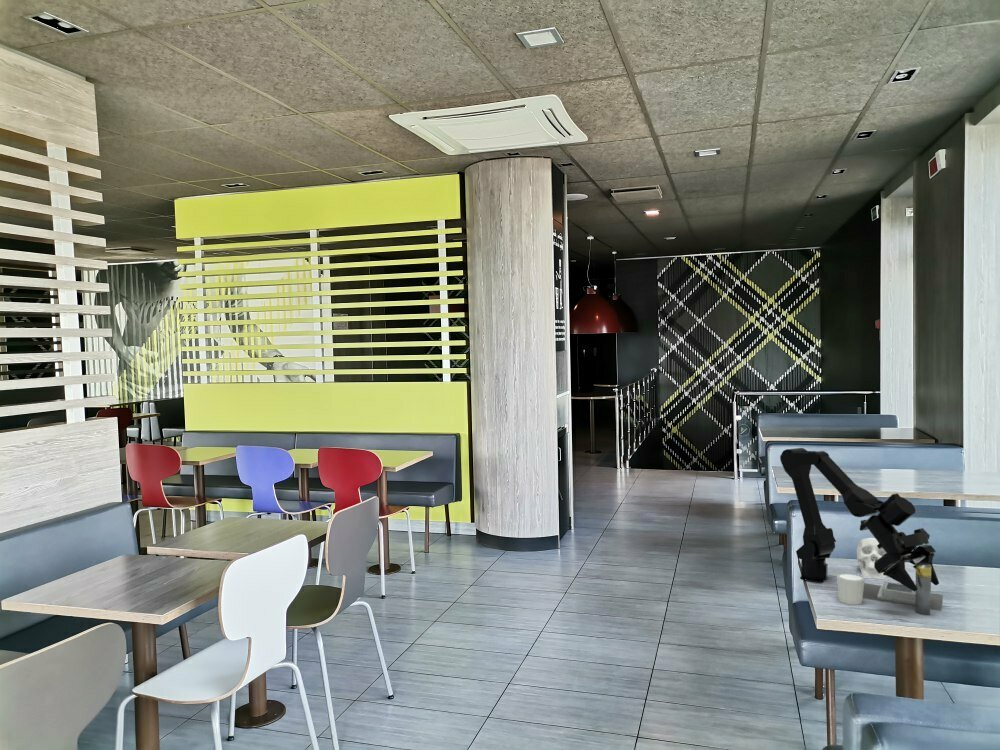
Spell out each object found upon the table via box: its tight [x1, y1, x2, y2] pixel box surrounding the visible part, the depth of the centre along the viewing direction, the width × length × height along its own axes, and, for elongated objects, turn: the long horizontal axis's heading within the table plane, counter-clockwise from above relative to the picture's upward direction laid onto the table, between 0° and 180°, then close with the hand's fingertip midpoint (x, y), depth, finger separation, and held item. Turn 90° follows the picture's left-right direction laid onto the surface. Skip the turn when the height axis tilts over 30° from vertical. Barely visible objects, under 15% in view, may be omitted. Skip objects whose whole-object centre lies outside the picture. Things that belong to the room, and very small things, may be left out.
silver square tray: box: [877, 581, 916, 605], centre depth 200 cm, size 10×10×3 cm
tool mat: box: [863, 582, 944, 612], centre depth 201 cm, size 22×14×1 cm, turn 57°
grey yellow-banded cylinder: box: [914, 563, 932, 616], centre depth 188 cm, size 4×4×13 cm
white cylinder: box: [836, 573, 866, 606], centre depth 197 cm, size 7×7×7 cm
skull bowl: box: [856, 537, 889, 580], centre depth 222 cm, size 10×14×12 cm
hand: (927, 587), depth 187 cm, fingers open, 9 cm apart
